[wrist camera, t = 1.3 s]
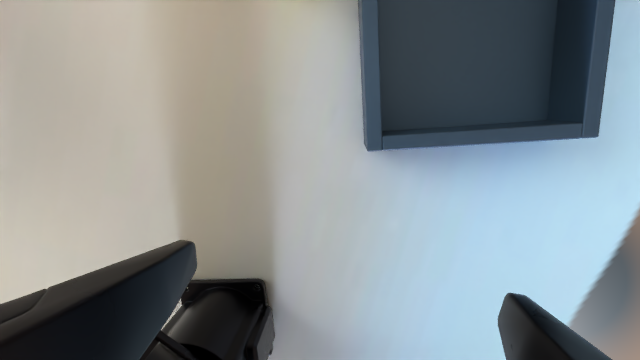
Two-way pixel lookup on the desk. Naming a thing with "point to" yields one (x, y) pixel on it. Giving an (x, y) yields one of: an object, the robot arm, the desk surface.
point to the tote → (482, 71)
